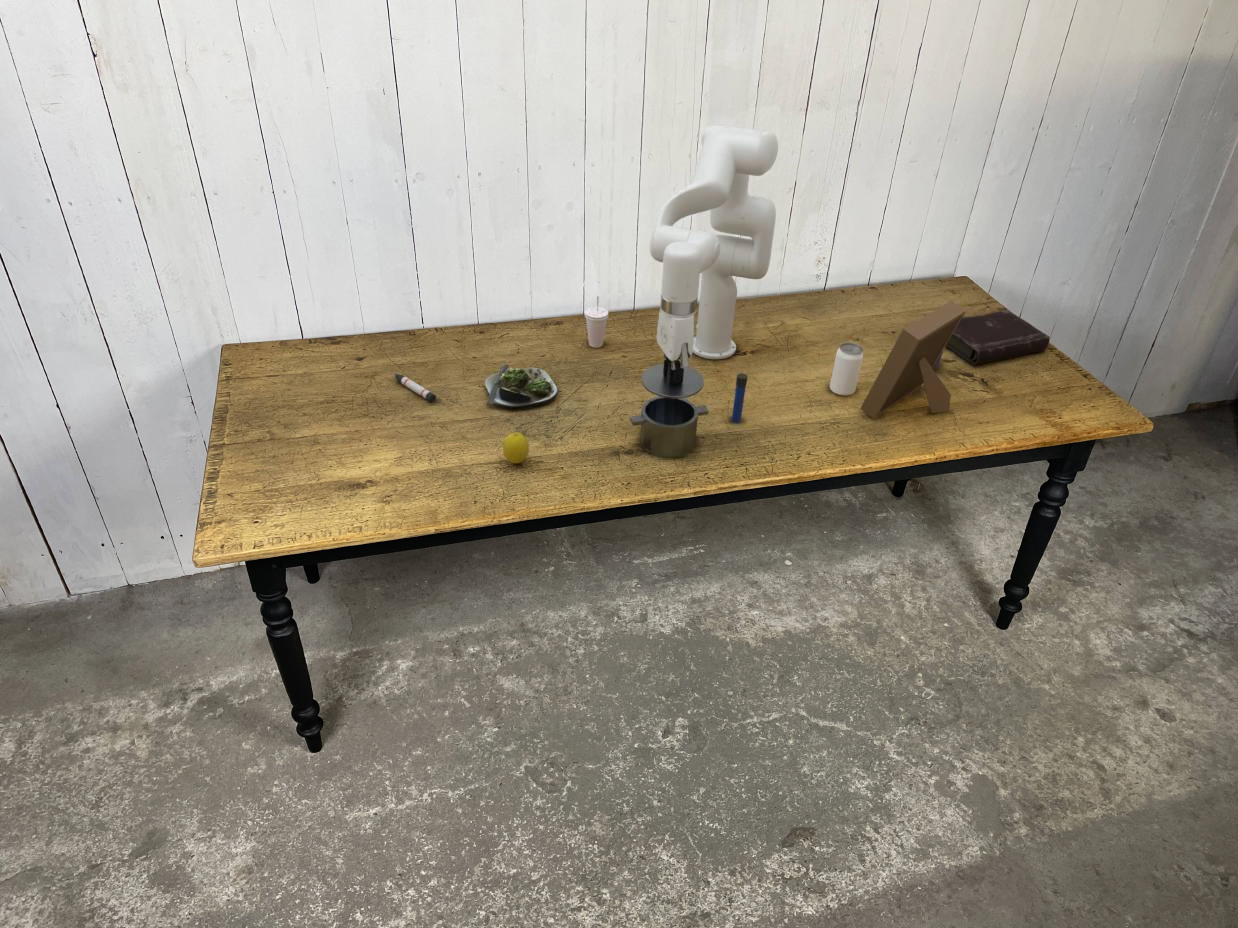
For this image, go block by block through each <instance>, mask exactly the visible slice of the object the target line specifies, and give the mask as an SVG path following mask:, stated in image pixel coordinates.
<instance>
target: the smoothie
mask: <svg viewBox="0 0 1238 928" xmlns="http://www.w3.org/2000/svg"><path fill="white" fill-rule="evenodd" d="M599 299H600V296H599V295H596V300H595V301H596V303H595V304H596V305H595V306H590V307H588V308H586V309H585V310H584V318H585V323H586V330H587V339H588V345H589V347H592V348H595V349H597V348H601V347H602V346H603V345H604V339H605V332H606V326H607V320H608V318H609V316H610V315H609V310H608V309H607V308H604V307H603V306H600V305H599V303H600V300H599Z"/></svg>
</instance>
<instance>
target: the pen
mask: <svg viewBox="0 0 1238 928" xmlns="http://www.w3.org/2000/svg"><path fill="white" fill-rule="evenodd" d="M747 383H748V375H747V374H746V373H741V372H740V373H738V374H737V375H736V381H735V391H734V393H735V394H734V398H733V406H732V414H731V422H732V423H734V424H740V423H741V422H742V415H743V408H744V401H745V394H746V387H747Z"/></svg>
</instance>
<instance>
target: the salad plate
mask: <svg viewBox="0 0 1238 928" xmlns="http://www.w3.org/2000/svg"><path fill="white" fill-rule="evenodd" d="M484 384H485V388H486V390H487V392H488V396H487V399H486V400H487V401H486V402H487V403H488V404H490V405H496V406H498V407H500V408H502V409H504V410H509V411H520V410H529V409H536V408H540V407H542V406H546V405H548V404H550V403H551V402H552V401H553V400H554V399H555V398H556V397H557V395H558V387H557V385H556V384H555V382H554V381H553V379H552V378H551V376H550V375H549V373H548V372H547V371H545V370H544V369H541V368H537V367H525V368H513V367H512V366H511V367H510V366H509V364H507V363H504V364H502V365H501V366H500V370H499V371H498V372H497V373H494V374H491V375H489V376H488V378H486V379H485V382H484Z"/></svg>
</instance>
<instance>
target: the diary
mask: <svg viewBox="0 0 1238 928" xmlns="http://www.w3.org/2000/svg"><path fill="white" fill-rule="evenodd" d="M1050 339H1051V337H1050V335H1048V334H1046V333H1044V332H1043V331H1041V330H1040V329H1038V328H1036V327H1035V326H1033V325H1032V324H1031V323H1030V322H1028V321H1026V320H1025V319H1023V318H1021V317H1019V316H1018V315H1016V314H1014V313H1013V312H1010V311H1009V310H1007V309H1005V310H999V311H994V312H989V313H985V314H984V313H983V314H978V315H973V316H967V317H966V316H963V317H962V319H961V321H960V322H959V324H958V326H957V327H956V329H955V331H954V332H953V334H952V336H951V337H950V339H949V341H948V342H947V344H946V346H945V347H946V348H947V349H949V350H950V351H951V352H952V353H954V354H956V355H957V356H959V357H960V358H961V359H963V360H964V361H966V362H967V363H969V364H970V365H971V366H978V365H982V364H985V363H990V362H994V361H995V362H996V361H999V360H1001V361H1002V360H1005V359H1006V360H1007V359H1012V358H1014V357H1015V358H1016V357H1018V356H1023V355H1026V354H1033V353H1038V352H1044V351H1046V350H1047V348H1048V346H1049V343H1050Z"/></svg>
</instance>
